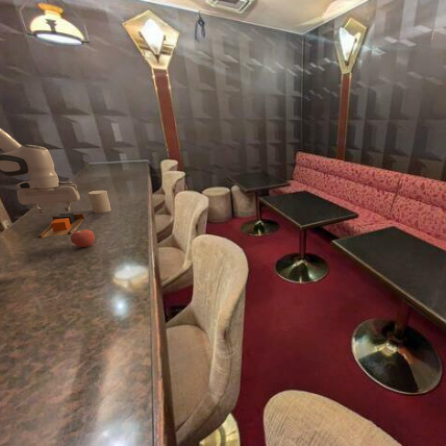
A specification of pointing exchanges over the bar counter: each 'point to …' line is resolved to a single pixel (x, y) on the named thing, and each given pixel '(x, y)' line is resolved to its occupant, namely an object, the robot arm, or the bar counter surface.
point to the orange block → (60, 224)
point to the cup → (100, 201)
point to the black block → (69, 215)
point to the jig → (70, 230)
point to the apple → (83, 238)
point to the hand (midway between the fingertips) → (55, 211)
